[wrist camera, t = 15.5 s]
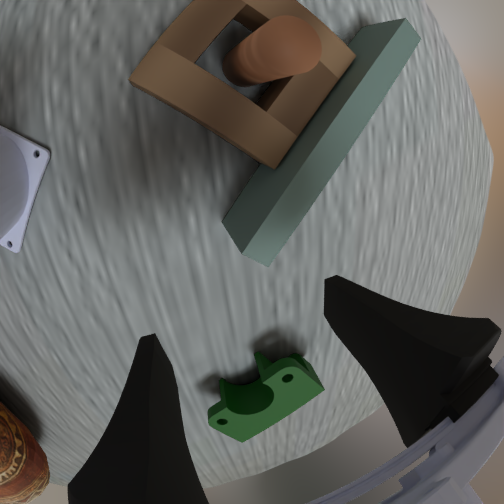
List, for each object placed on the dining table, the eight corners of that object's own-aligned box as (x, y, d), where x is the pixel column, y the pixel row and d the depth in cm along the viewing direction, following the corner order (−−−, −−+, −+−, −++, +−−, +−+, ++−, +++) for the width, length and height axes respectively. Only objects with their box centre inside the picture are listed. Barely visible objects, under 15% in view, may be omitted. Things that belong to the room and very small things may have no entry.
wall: (221, 222, 20) (241, 253, 16) (362, 27, 16) (405, 18, 12) (243, 234, 21) (268, 267, 17) (377, 43, 17) (421, 38, 12)
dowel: (212, 66, 15) (245, 38, 9) (244, 38, 14) (291, 5, 9) (245, 95, 16) (292, 86, 11) (274, 68, 16) (333, 50, 10)
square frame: (132, 85, 14) (127, 79, 11) (225, -21, 12) (237, -39, 9) (257, 161, 19) (274, 169, 16) (332, 60, 17) (356, 55, 14)
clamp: (256, 324, 32) (303, 346, 24) (286, 351, 34) (334, 375, 26) (190, 401, 28) (218, 446, 20) (226, 422, 30) (260, 464, 22)
